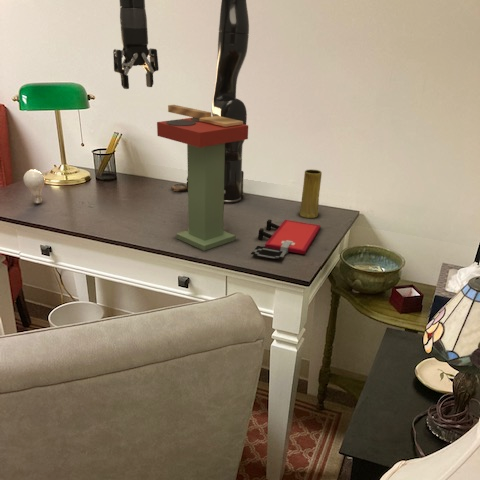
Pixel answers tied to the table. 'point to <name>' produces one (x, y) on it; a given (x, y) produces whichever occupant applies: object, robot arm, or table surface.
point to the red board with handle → (286, 239)
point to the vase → (310, 194)
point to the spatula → (203, 116)
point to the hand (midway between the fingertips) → (138, 87)
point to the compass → (180, 187)
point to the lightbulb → (34, 184)
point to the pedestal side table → (204, 176)
